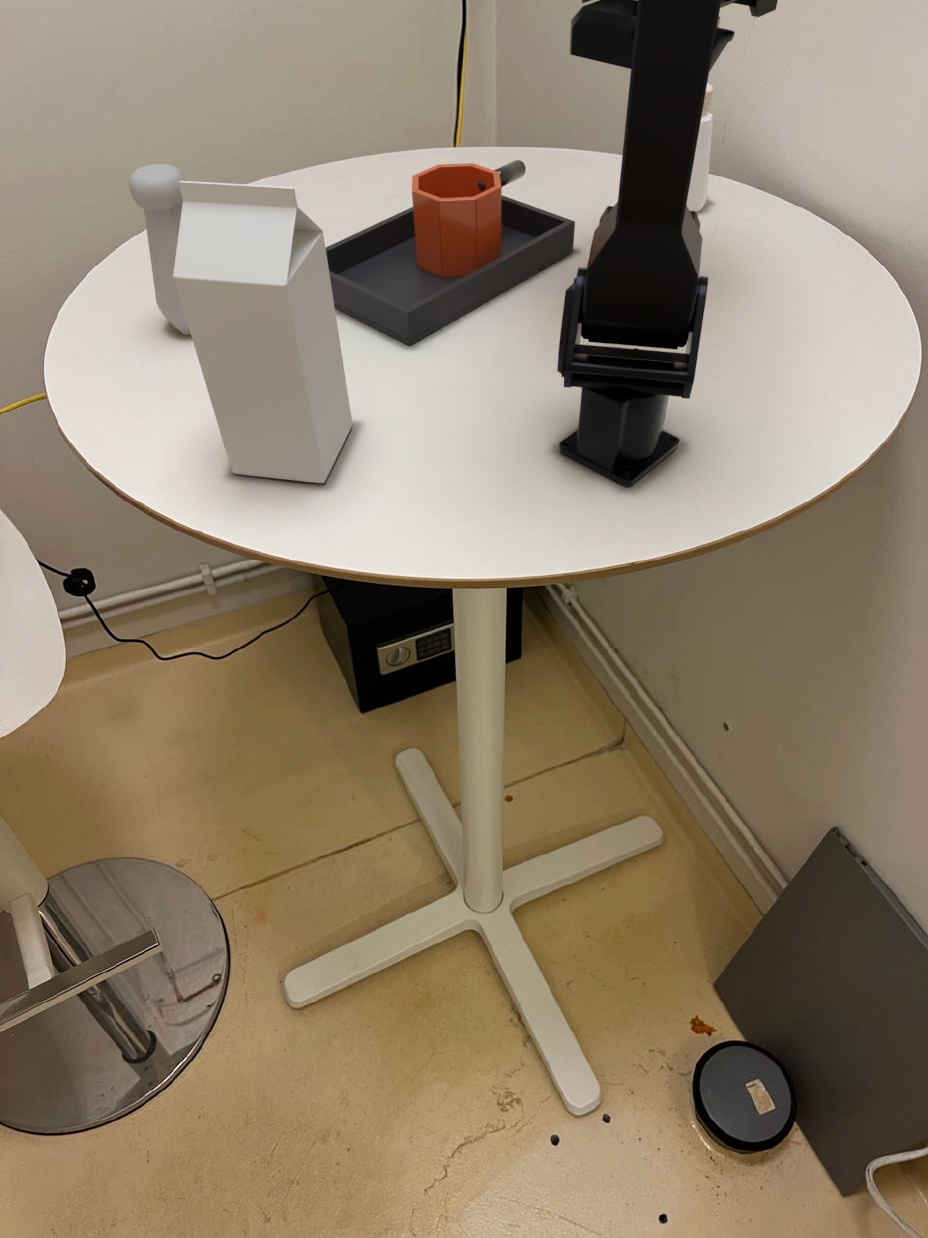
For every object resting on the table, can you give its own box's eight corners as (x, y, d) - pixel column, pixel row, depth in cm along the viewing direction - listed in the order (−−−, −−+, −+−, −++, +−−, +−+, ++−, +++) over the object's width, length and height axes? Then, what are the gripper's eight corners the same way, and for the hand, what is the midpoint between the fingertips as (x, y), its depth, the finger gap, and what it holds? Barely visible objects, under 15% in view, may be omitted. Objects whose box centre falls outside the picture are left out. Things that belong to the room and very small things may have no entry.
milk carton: (325, 486, 60) (272, 214, 46) (232, 475, 61) (151, 207, 47) (353, 426, 65) (313, 163, 50) (266, 417, 66) (202, 157, 51)
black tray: (409, 345, 72) (407, 313, 70) (302, 291, 79) (296, 260, 76) (573, 252, 82) (575, 220, 80) (466, 211, 89) (465, 181, 87)
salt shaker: (244, 317, 76) (207, 164, 66) (197, 347, 73) (151, 191, 63) (198, 300, 78) (156, 150, 68) (151, 328, 75) (100, 175, 65)
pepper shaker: (684, 219, 86) (704, 99, 78) (643, 203, 89) (658, 85, 81) (716, 203, 89) (739, 84, 80) (675, 188, 91) (693, 72, 83)
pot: (460, 285, 78) (457, 207, 72) (400, 259, 81) (393, 183, 76) (551, 235, 84) (555, 160, 79) (492, 212, 88) (492, 139, 82)
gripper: (673, -148, 64) (645, 86, 75) (512, -110, 55) (509, 149, 67) (809, -136, 58) (757, 114, 70) (655, -91, 50) (624, 186, 61)
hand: (662, 138), depth 67 cm, fingers closed
